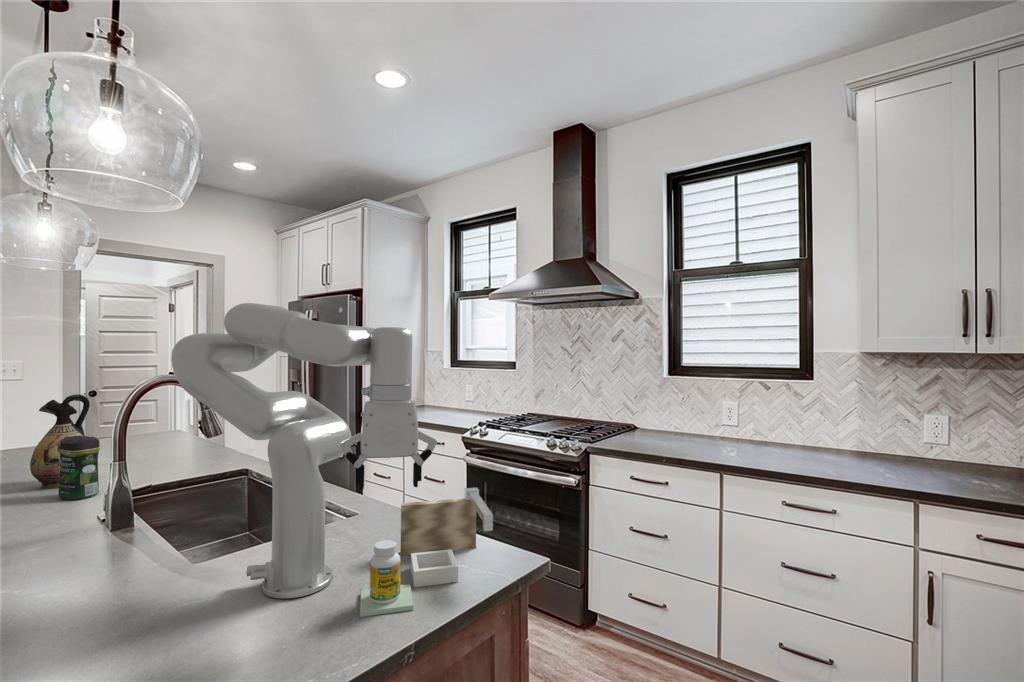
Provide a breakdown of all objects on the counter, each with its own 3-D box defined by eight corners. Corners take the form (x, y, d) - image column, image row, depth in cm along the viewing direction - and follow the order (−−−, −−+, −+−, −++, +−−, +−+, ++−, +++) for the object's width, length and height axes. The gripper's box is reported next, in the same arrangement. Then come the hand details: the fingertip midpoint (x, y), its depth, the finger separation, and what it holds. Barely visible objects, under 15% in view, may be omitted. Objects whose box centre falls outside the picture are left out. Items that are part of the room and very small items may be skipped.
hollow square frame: (413, 587, 93) (414, 571, 93) (410, 567, 102) (410, 553, 102) (458, 581, 96) (458, 566, 96) (451, 563, 104) (451, 549, 104)
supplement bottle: (394, 587, 92) (394, 536, 92) (404, 599, 87) (405, 546, 87) (365, 595, 89) (366, 542, 89) (374, 608, 84) (375, 552, 84)
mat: (359, 616, 83) (359, 612, 83) (361, 594, 91) (361, 589, 91) (413, 609, 85) (413, 605, 85) (410, 588, 93) (410, 584, 93)
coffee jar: (52, 498, 146) (54, 437, 146) (82, 491, 153) (84, 432, 154) (73, 502, 143) (75, 439, 143) (103, 494, 150) (105, 434, 151)
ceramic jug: (31, 494, 150) (34, 397, 150) (27, 485, 160) (30, 394, 160) (102, 483, 162) (104, 394, 163) (94, 475, 173) (97, 391, 173)
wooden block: (400, 555, 108) (401, 505, 108) (400, 552, 110) (401, 503, 110) (475, 547, 112) (476, 500, 112) (474, 544, 114) (474, 497, 114)
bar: (480, 531, 96) (481, 514, 96) (464, 502, 114) (464, 488, 114) (495, 530, 97) (495, 513, 97) (476, 501, 115) (477, 487, 115)
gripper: (339, 396, 84) (337, 495, 84) (439, 395, 88) (438, 489, 88) (343, 392, 91) (341, 483, 91) (435, 391, 95) (434, 479, 95)
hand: (388, 486), depth 89 cm, fingers open, 9 cm apart
